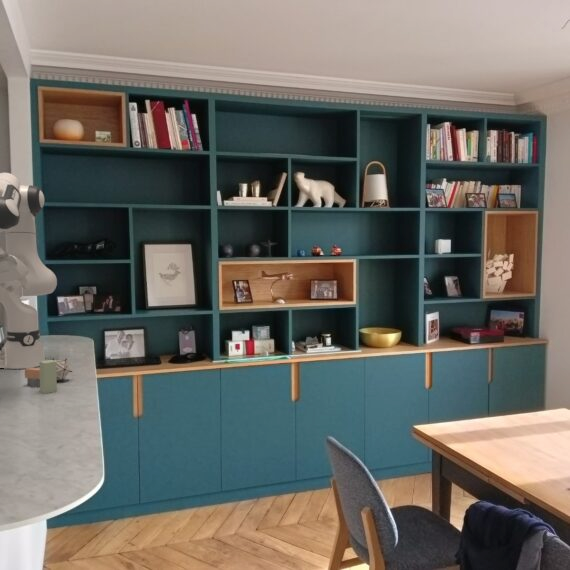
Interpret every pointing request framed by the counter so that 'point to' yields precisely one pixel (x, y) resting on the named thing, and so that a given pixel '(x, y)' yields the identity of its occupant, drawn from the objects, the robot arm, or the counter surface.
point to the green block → (48, 376)
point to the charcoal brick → (33, 382)
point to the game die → (61, 369)
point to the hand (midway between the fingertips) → (19, 289)
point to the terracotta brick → (32, 373)
